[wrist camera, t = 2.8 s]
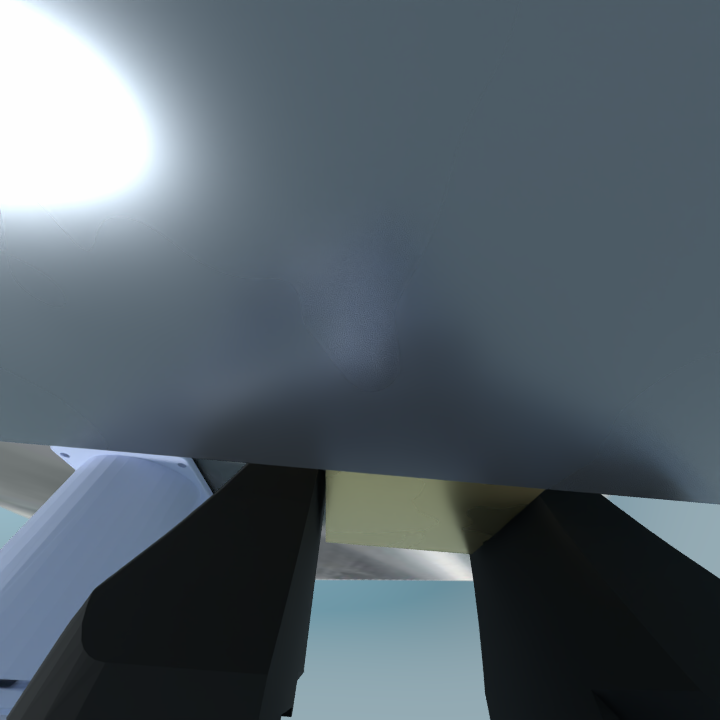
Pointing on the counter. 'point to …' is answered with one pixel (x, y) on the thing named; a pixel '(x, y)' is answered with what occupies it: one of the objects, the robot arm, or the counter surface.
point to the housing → (368, 236)
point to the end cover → (418, 511)
